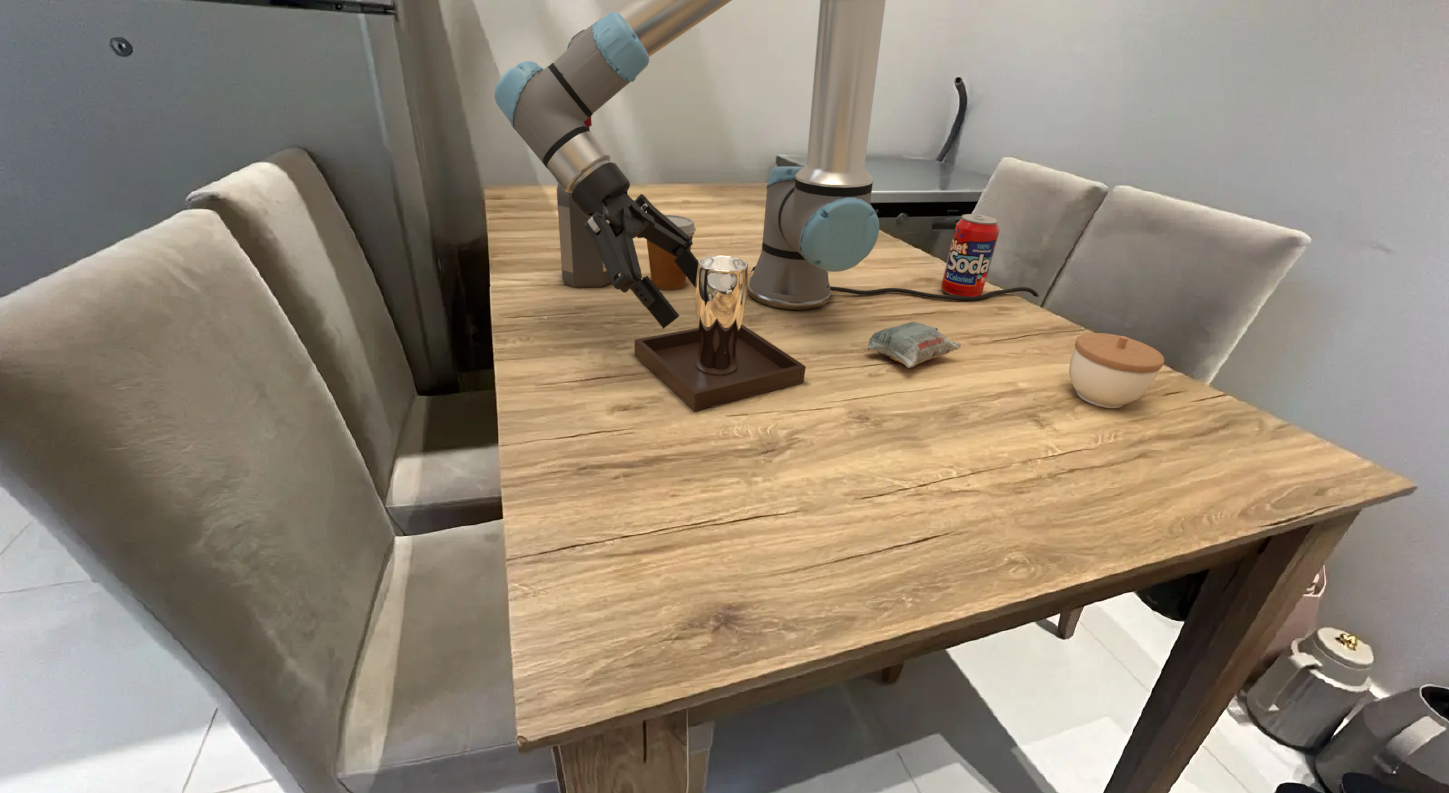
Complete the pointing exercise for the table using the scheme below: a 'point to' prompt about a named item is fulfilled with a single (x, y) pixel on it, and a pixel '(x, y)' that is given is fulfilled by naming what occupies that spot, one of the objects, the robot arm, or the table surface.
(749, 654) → the table surface
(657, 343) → the serving tray
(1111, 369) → the trinket box
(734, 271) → the beer glass
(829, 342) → the table surface
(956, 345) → the packaged food
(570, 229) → the liquor
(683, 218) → the disposable coffee cup
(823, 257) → the robot arm
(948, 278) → the soda can
